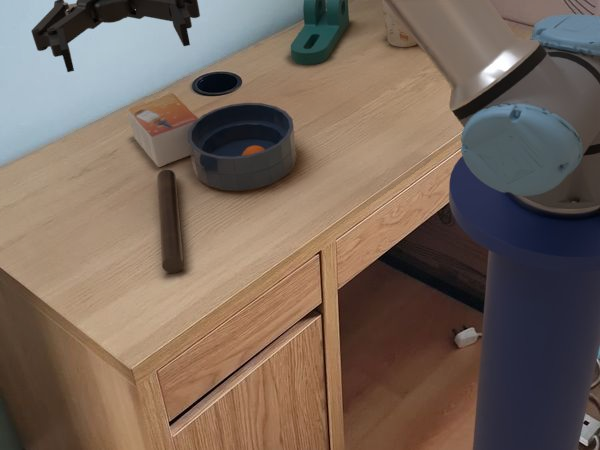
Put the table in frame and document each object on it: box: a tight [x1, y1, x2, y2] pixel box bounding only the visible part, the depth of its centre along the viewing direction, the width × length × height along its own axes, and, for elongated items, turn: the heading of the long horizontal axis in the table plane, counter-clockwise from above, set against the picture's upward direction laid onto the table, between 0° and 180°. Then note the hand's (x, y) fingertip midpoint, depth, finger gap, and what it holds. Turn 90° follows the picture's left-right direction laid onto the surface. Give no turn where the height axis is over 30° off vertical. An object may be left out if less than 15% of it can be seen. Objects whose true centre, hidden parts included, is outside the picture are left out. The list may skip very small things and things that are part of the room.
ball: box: [242, 145, 265, 156], centre depth 113 cm, size 4×4×4 cm
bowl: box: [188, 102, 298, 192], centre depth 115 cm, size 15×15×6 cm
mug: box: [381, 0, 418, 48], centre depth 140 cm, size 8×13×10 cm, turn 36°
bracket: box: [290, 0, 350, 66], centre depth 145 cm, size 18×7×8 cm, turn 162°
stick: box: [156, 169, 184, 274], centre depth 106 cm, size 3×3×20 cm
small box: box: [127, 93, 199, 168], centre depth 121 cm, size 8×6×10 cm
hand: (127, 47), depth 90 cm, fingers open, 13 cm apart
